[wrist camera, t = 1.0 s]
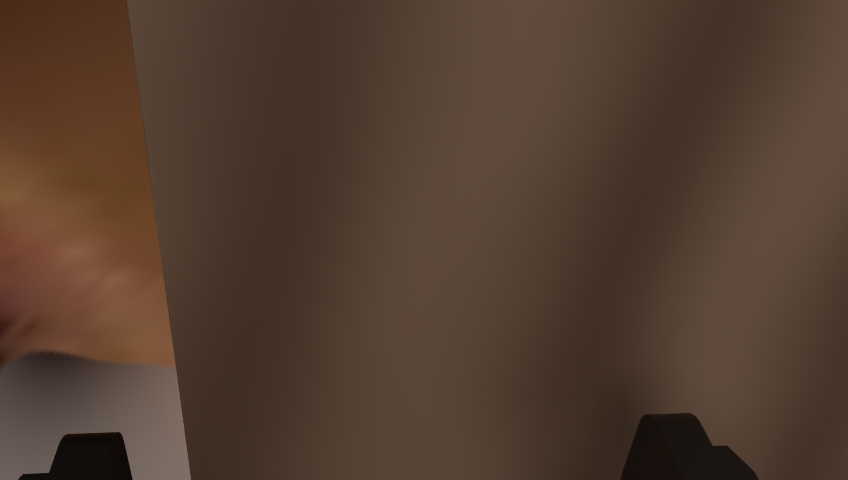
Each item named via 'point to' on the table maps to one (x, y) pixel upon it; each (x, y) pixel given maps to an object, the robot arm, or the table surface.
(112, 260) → the table surface
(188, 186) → the walnut cabinet
